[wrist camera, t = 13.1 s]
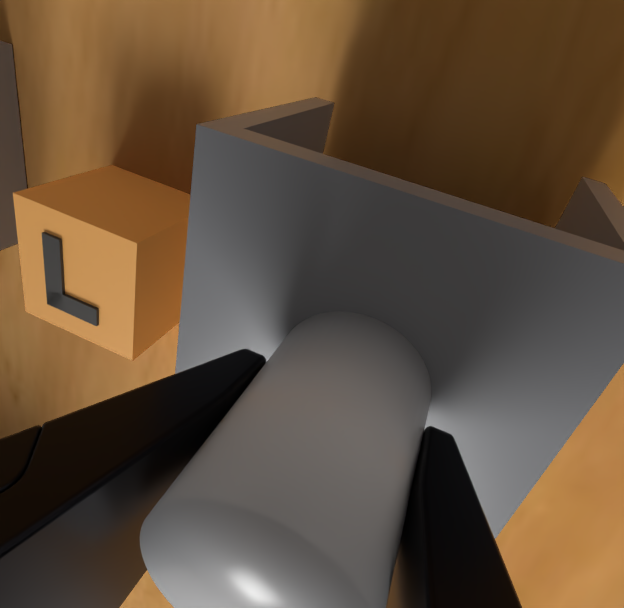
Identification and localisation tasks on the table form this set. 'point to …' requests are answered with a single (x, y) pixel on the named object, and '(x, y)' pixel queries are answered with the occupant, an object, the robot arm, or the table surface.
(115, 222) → the letter cube
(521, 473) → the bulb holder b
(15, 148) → the hood
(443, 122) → the table surface
